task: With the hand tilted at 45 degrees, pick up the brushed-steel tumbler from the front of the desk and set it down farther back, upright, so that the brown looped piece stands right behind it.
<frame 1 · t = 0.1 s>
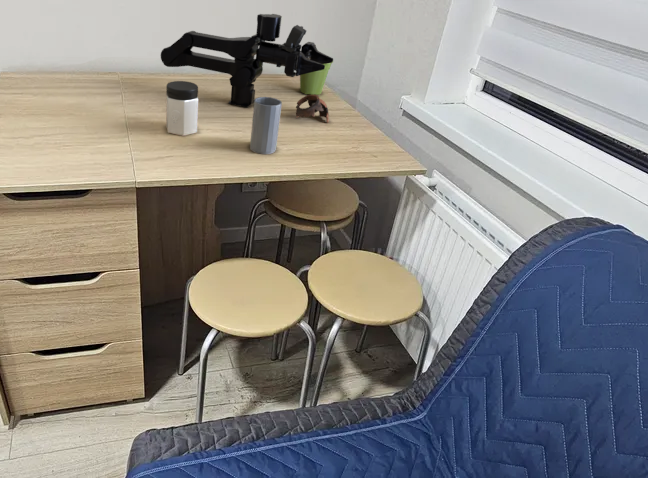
hand: (328, 63, 146), 17 cm above the table, tool horizontal, fingers open, 9 cm apart
plant pot: (310, 92, 178), on the table
jar: (181, 130, 140), on the table
brown looped piece: (311, 119, 156), on the table
tumbler: (262, 148, 134), on the table
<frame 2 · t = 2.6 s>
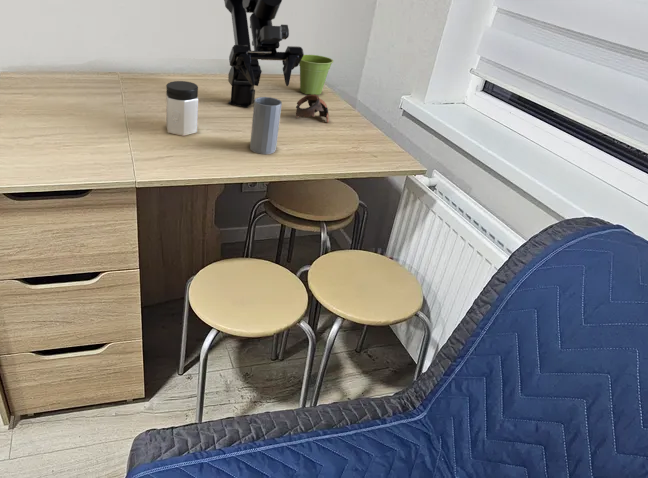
hand: (270, 85, 133), 14 cm above the table, tool tilted 50°, fingers open, 9 cm apart
nothing on the table moved.
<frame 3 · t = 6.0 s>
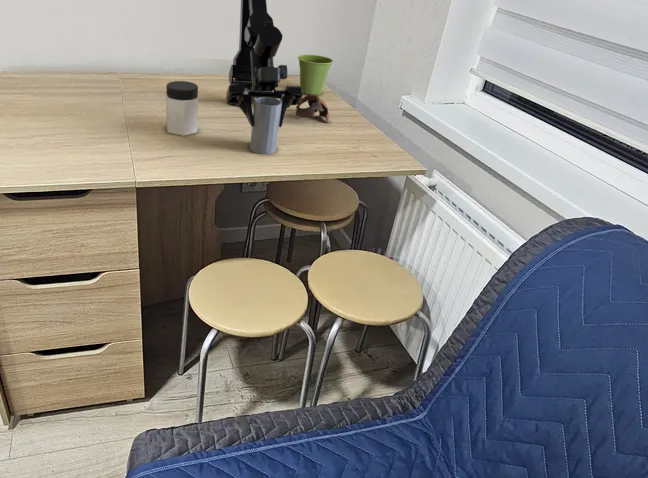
hand: (266, 126, 129), 7 cm above the table, tool tilted 45°, fingers closed on tumbler, 7 cm apart
tumbler: (262, 148, 134), on the table, touching gripper
everything else where it was.
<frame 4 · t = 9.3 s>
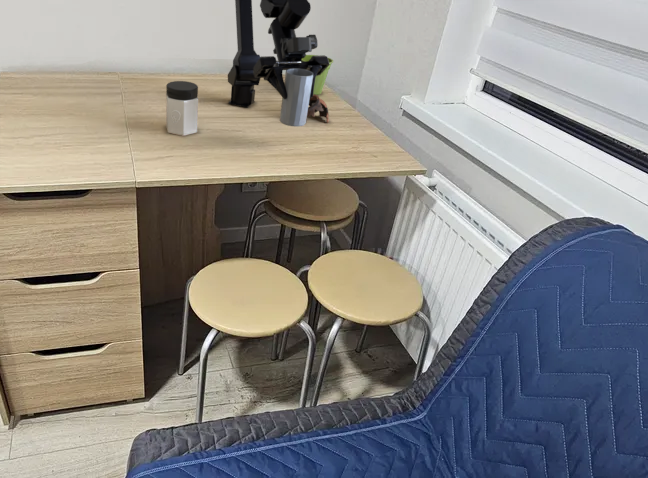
hand: (298, 98, 128), 13 cm above the table, tool tilted 45°, fingers closed on tumbler, 7 cm apart
tumbler: (292, 121, 133), point 7 cm above the table, touching gripper
everything else where it was.
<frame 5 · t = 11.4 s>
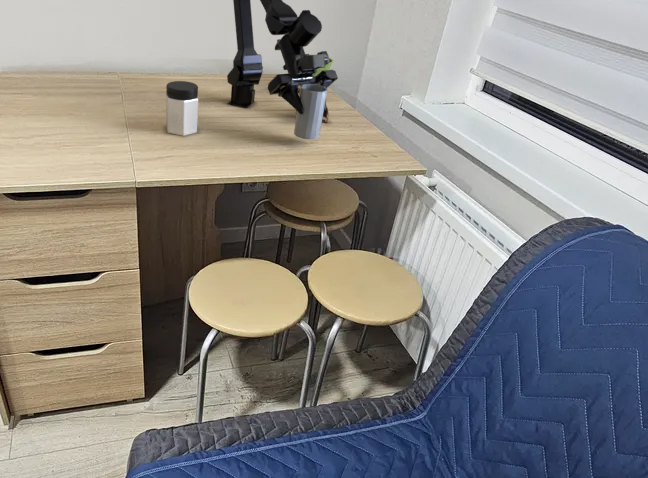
hand: (313, 112, 133), 9 cm above the table, tool tilted 45°, fingers closed on tumbler, 7 cm apart
tumbler: (306, 134, 138), point 3 cm above the table, touching gripper
everything else where it was.
when the fingers open (7 cm above the table, at t = 12.7 s): tumbler stays where it is, on the table.
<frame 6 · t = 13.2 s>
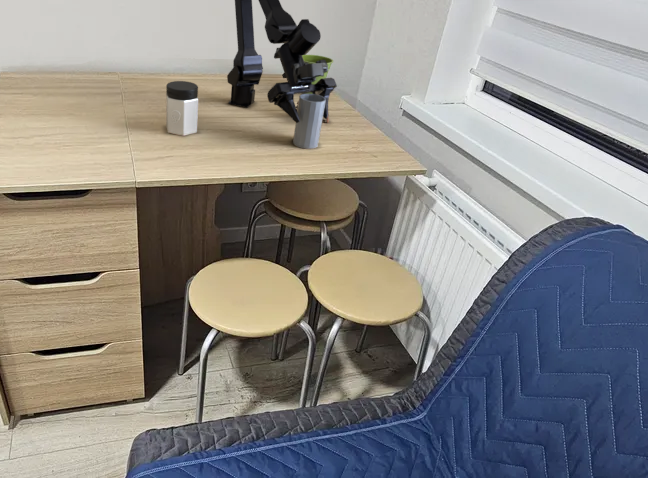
hand: (312, 120, 134), 7 cm above the table, tool tilted 45°, fingers open, 9 cm apart
tumbler: (305, 143, 139), on the table
everything else where it was.
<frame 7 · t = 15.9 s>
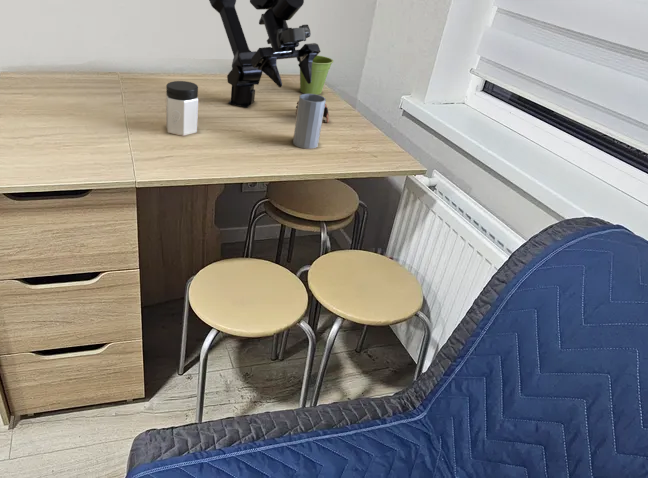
hand: (295, 84, 137), 13 cm above the table, tool tilted 45°, fingers open, 9 cm apart
nothing on the table moved.
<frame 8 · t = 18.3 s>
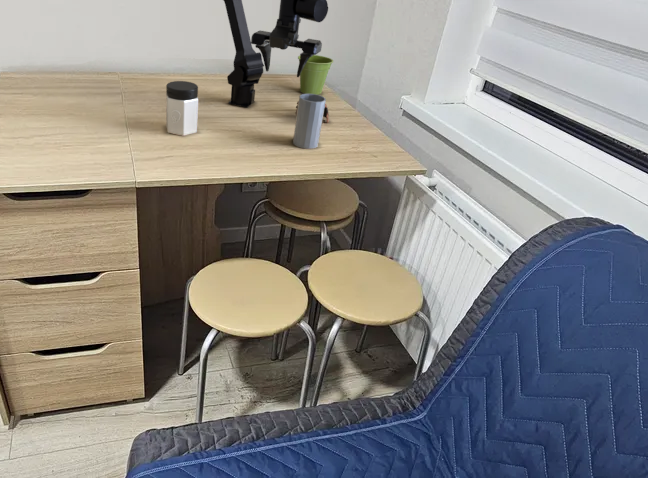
hand: (282, 74, 147), 13 cm above the table, tool pointing down, fingers open, 9 cm apart
nothing on the table moved.
at the end: tumbler 0.1 cm from the target spot, on the table; tumbler tilted 0°; tumbler 20.4 cm from the brown looped piece (horizontally) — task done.
